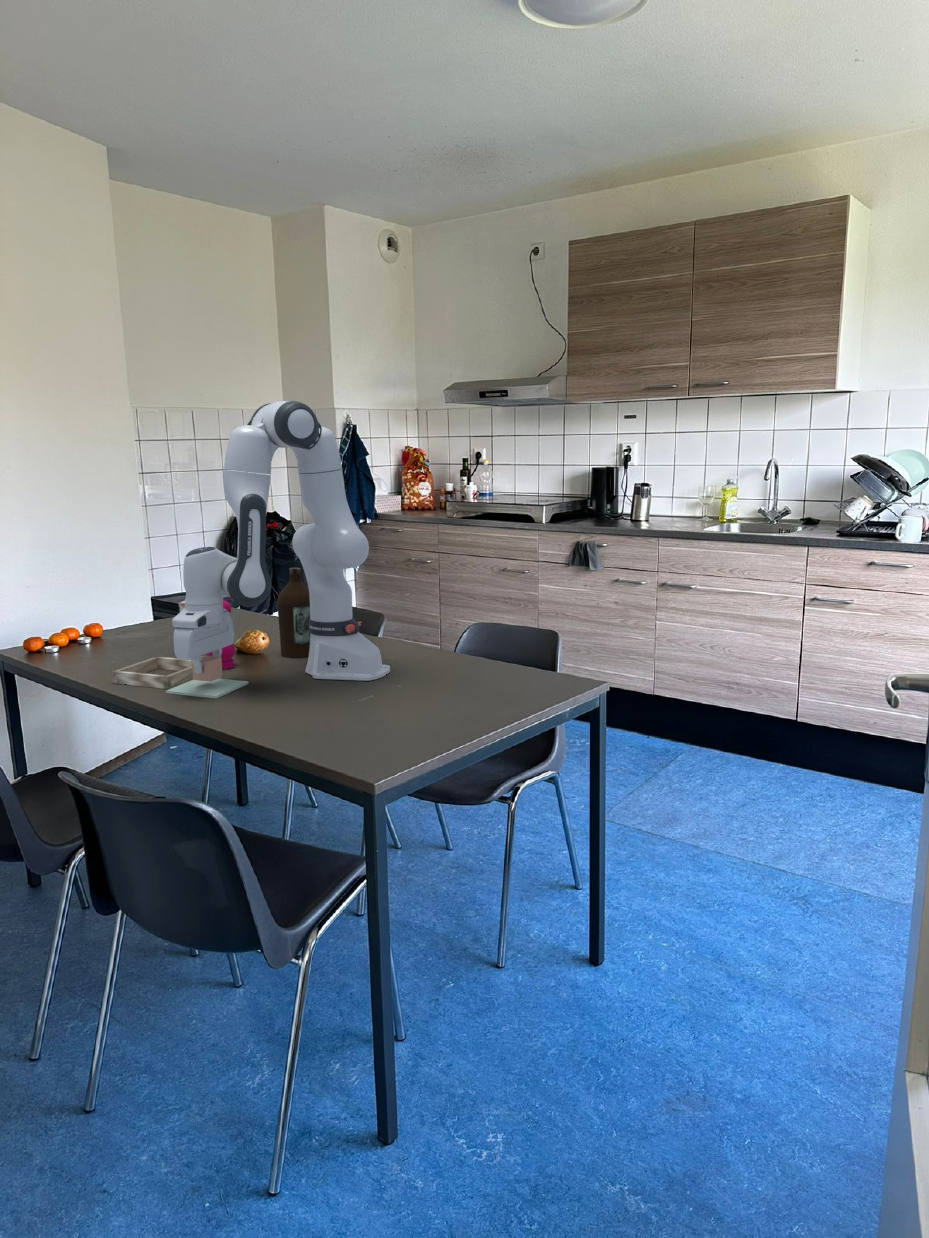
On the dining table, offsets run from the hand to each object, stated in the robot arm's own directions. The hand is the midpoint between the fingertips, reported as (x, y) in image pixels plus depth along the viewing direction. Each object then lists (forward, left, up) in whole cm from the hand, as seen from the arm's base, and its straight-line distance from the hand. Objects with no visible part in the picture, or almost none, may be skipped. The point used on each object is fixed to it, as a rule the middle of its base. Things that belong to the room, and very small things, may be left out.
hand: (207, 669), depth 212 cm
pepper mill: (+9, -20, -5) cm, 23 cm away
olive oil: (-3, -40, -5) cm, 40 cm away
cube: (0, 0, -2) cm, 2 cm away
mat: (0, 0, -5) cm, 5 cm away
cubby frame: (+17, -5, -5) cm, 18 cm away
